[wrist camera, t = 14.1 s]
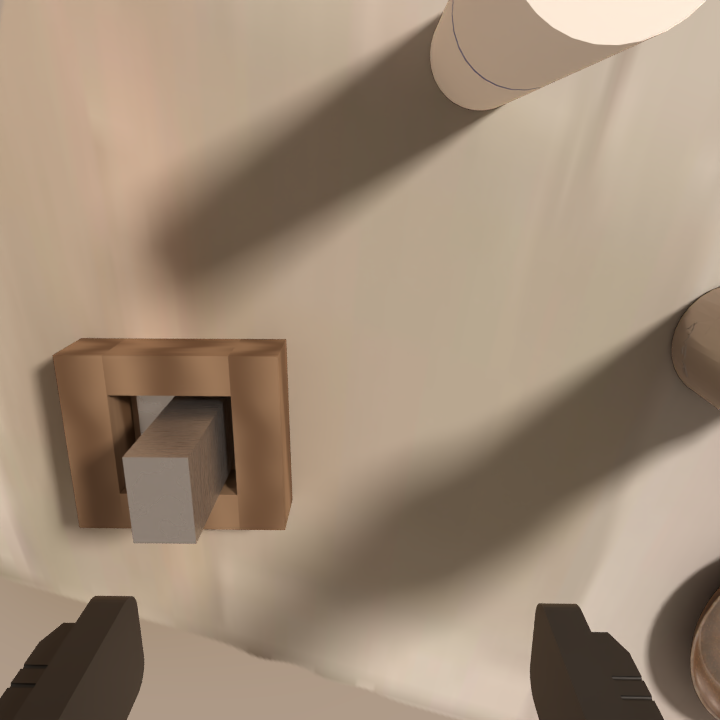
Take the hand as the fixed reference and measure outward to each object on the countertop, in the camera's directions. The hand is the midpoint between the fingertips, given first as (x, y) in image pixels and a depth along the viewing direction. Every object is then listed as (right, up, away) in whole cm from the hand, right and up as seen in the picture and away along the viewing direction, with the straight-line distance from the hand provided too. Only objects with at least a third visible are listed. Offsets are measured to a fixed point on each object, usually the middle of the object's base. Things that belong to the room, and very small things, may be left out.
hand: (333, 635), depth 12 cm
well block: (-13, 0, +38) cm, 40 cm away
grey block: (-13, 0, +38) cm, 40 cm away
